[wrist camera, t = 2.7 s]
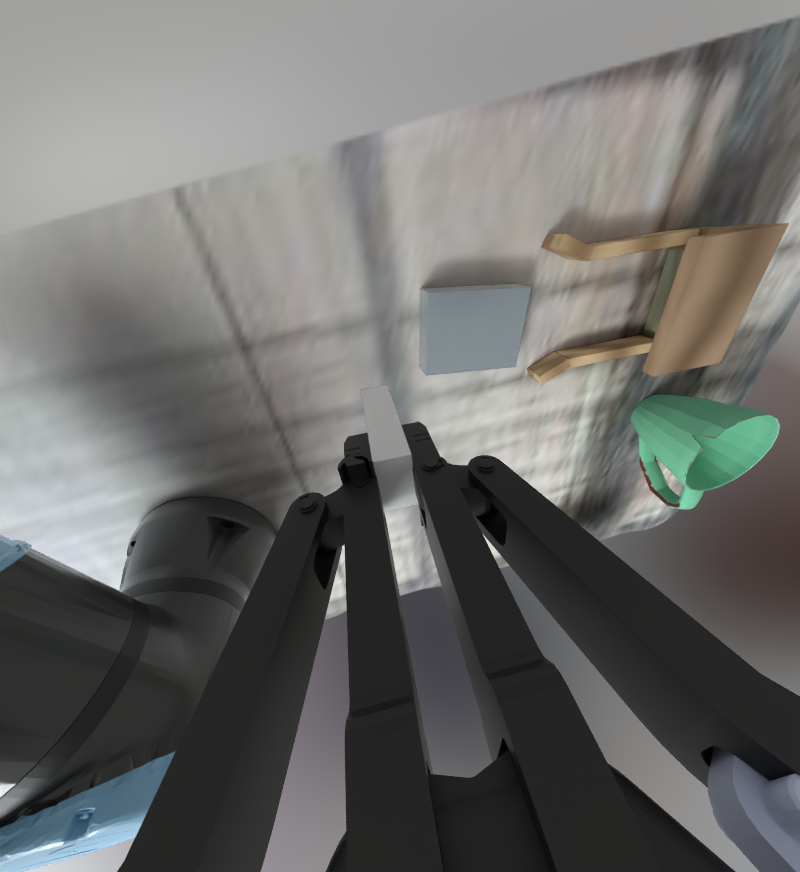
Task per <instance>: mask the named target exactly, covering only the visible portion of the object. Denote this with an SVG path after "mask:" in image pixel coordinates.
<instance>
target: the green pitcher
mask: <svg viewBox="0 0 800 872" xmlns="http://www.w3.org/2000/svg"><path fill="white" fill-rule="evenodd" d="M631 424H632V425H633V427H634V428H635V430H636V432H637V433H638V438H639V463H640V465H641V468H642V470H643V473H644V476H645V478H646V481H647V483H648V486H649V488H650V490H651V491H652V492H653V493H654V494H655V495H656V496H657V497H659V498H660V499H661V500H662V501H663V502H664V503H665V504H666V505H667V506H669V507H671V508H677V509H691V508H694V507H695V506H696V505H697V503H698V501H699V500H700V498H701V497H702V494H703V491H705V490H711V489H714V488H717V487H720V486H722V485H724V484H726V483H728V482H730V481H732V480H734V479H736V478H738V477H739V476H740V475H742V474H743V473H745V472H746V471H748V470H749V469H750V468H752V467H753V466H754V465H755V464H756V463H757V462H758V461H759V460H761V459H762V458H763V456H764V455H765V454H766V453H767V452H768V450H769V449H770V448H771V447H772V445H773V444H774V442H775V440H776V438H777V436H778V433H779V428H780V424H779V422H778V419H777V418H776V417H774V416H772V415H769V414H767V413H764V412H762V411H758V410H755V409H750V408H745V407H740V406H734V405H729V404H724V403H720V402H716V401H712V400H708V399H701V398H694V397H686V396H676V395H660V394H659V395H652V396H649V397H648V398H646V399H644V400H643V401H642V402H641V403H640V404H638V405H637V407H636V408H635V409H634V411H633V413H632V415H631ZM656 457H657V458H658V459H659V460H660V461H661V462H662V463H663V464H664V465H665V466H666V468H667V469H668V470H669V471H670V472H671V473H672V474H673V475H674V476H675V477H676V478H677V479H678V480H679V481H680V482H681V483H682V484H683V485H684V486H683V491H682V495H681V497H679V496H677V495H676V494H675V493H674V492H673V491H672V490H671V489H670V488H669V486H668V484H667V482H666V480H665V478H664V475H663V473H662V471H661V469H660V467H659V465H658V463H657V460H656Z"/></svg>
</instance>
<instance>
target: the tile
mask: <svg viewBox="0 0 800 872" xmlns="http://www.w3.org/2000/svg"><path fill="white" fill-rule="evenodd" d="M530 292H531V287H528V286H524V285H520V284H516V283H515V284H496V285H478V286H459V287H441V288H422V289H420V358H419V366H420V367H421V369H422V370H423V372H424V373H425V375H437V374H447V373H457V372H467V371H478V370H488V369H498V368H509V367H516V363H517V358H518V353H519V348H520V343H521V338H522V333H523V327H524V322H525V317H526V312H527V307H528V302H529V297H530Z"/></svg>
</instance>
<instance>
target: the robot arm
mask: <svg viewBox="0 0 800 872" xmlns="http://www.w3.org/2000/svg"><path fill="white" fill-rule="evenodd" d="M361 395H362V402H363V408H364V414H365V420H366V426H367V432H368V433H364V434H359V435H354V436H349V437H348V438H347V439H346V441H345V443H344V456H345V458H344V459H343V460H342V461H341V462H340V463H339V465H338V471H339V474H340V477H341V480H342V484H343V485H342V486H341V487H340V488H339V489H338V490H337V491H335V492H333V493H332V494H329V495H327V496H325V497H324V496H323V495H321V494H320V493H314V492H313V493H307V494H304V495H302V496H300V497H299V498H297V499H296V500H295V501H294V502H293V503H292V505H291V506H290V508H289V510H288V512H287V515H286V517H285V519H284V521H283V523H282V525H281V527H280V530H279V532H278V534H277V536H276V534H275V531H274V529H273V527H272V526H271V524H270V523H269V522H268V521H267V520H266V519H265V518H264V517H263V516H262V515H261V514H259V513H258V512H256V511H255V510H253V509H251V508H249V507H247V506H245V505H242V504H240V503H237V502H233V501H230V500H225V499H219V498H210V497H194V498H185V499H179V500H175V501H172V502H168V503H166V504H163V505H161V506H159V507H157V508H155V509H154V510H152V511H151V512H150V513H149V514H148V515H146V516H145V518H144V519H143V520H142V522H141V523H140V525H139V526H138V528H137V529H136V531H135V532H134V534H133V535H132V537H131V539H130V541H129V544H128V549H127V559H126V562H125V566H124V570H123V575H122V580H121V585H120V590H119V591H118V590H116V589H114V588H112V587H110V586H108V585H106V584H103V583H101V582H99V581H97V580H95V579H93V578H91V577H89V576H87V575H85V574H83V573H81V572H79V571H77V570H75V569H73V568H71V567H69V566H66V565H64V564H62V563H60V562H58V561H56V560H54V559H52V558H50V557H48V556H46V555H44V554H42V553H40V552H38V551H36V550H34V549H32V548H31V545H30V544H28V543H26V542H25V541H21V540H11V539H9V538H6V537H4V536H2V535H0V872H23V871H26V870H30V869H34V868H37V867H41V866H45V865H48V864H52V863H55V862H59V861H62V860H66V859H69V858H72V857H76V856H79V855H82V854H86V853H89V852H92V851H95V850H98V849H101V848H104V847H108V846H111V845H114V844H117V843H120V842H122V841H125V840H129V839H131V838H134V837H135V840H134V842H133V844H132V846H131V848H130V850H129V852H128V855H127V857H126V859H125V861H124V862H123V864H122V865H121V867H120V868H119V870H118V871H117V872H260V871H261V868H262V865H263V861H264V858H265V854H266V851H267V847H268V844H269V840H270V837H271V833H272V829H273V826H274V822H275V818H276V814H277V810H278V805H279V801H280V797H281V793H282V789H283V785H284V781H285V777H286V773H287V769H288V765H289V761H290V757H291V752H292V749H293V744H294V741H295V737H296V733H297V729H298V724H299V720H300V716H301V712H302V708H303V704H304V700H305V696H306V692H307V688H308V684H309V680H310V676H311V671H312V668H313V663H314V660H315V656H316V652H317V648H318V644H319V640H320V635H321V631H322V627H323V623H324V619H325V615H326V611H327V607H328V603H329V599H330V595H331V591H332V587H333V583H334V579H335V575H336V571H337V567H338V563H339V559H340V555H341V550H342V545H344V544H345V568H346V599H347V628H348V629H347V630H348V661H349V689H350V708H349V714H348V717H347V720H346V728H345V773H346V774H345V780H346V826H347V827H346V829H347V831H346V832H345V834H344V835H343V837H342V839H341V840H340V842H339V844H338V846H337V848H336V850H335V852H334V854H333V856H332V858H331V861H330V863H329V865H328V868H327V870H326V872H735V871H734V870H733V869H732V868H730V867H729V866H728V865H727V864H725V862H723V861H722V860H721V859H720V858H719V857H718V856H717V855H715V854H714V853H713V852H712V851H711V850H710V849H708V848H707V847H706V846H705V845H704V844H703V843H701V842H700V841H699V840H698V839H697V838H696V837H694V836H693V835H692V834H691V833H690V832H689V831H688V830H687V829H685V828H684V827H683V826H682V825H681V824H680V823H678V822H677V821H676V820H675V819H674V818H672V816H670V815H669V814H668V813H667V812H666V811H664V810H663V809H662V808H661V807H660V806H659V805H658V804H657V803H655V802H654V801H653V800H652V799H651V798H650V797H648V796H647V795H646V794H645V793H644V792H643V791H642V790H640V789H639V788H638V787H637V786H636V785H635V784H633V783H632V782H631V781H630V780H628V778H626V777H625V776H624V775H623V774H622V773H620V772H619V771H618V770H616V769H615V768H614V767H612V766H611V765H609V764H608V763H607V762H606V760H605V758H604V756H603V754H602V752H601V750H600V748H599V746H598V744H597V742H596V740H595V738H594V736H593V734H592V733H591V731H590V729H589V727H588V725H587V723H586V721H585V719H584V717H583V715H582V713H581V711H580V709H579V707H578V705H577V703H576V701H575V700H574V698H573V696H572V694H571V692H570V690H569V688H568V686H567V684H566V682H565V681H564V679H563V677H562V675H561V674H560V672H559V671H558V669H557V668H556V667H555V666H554V664H553V663H551V662H550V661H548V660H547V659H546V658H545V657H544V656H543V655H542V653H541V651H540V650H539V648H538V646H537V644H536V642H535V640H534V638H533V636H532V634H531V632H530V630H529V628H528V626H527V624H526V622H525V620H524V618H523V616H522V614H521V611H520V609H519V607H518V606H517V603H516V601H515V599H514V597H513V595H512V593H511V591H510V589H509V587H508V585H507V583H506V581H505V579H504V577H503V575H502V573H501V571H500V569H499V567H498V565H497V563H496V561H495V559H494V557H493V555H492V553H491V550H490V548H489V546H488V544H487V542H486V540H485V538H484V536H485V537H486V538H487V539H488V540H489V542H490V543H491V544H492V545H493V546H494V547H495V549H496V550H497V551H498V552H499V553H500V555H501V556H502V557H503V558H504V559H505V561H506V562H507V563H508V564H509V565H510V566H511V568H512V569H513V570H514V571H515V572H516V574H517V575H518V576H519V577H520V578H521V580H522V581H523V582H524V583H525V584H526V586H527V587H528V588H529V589H530V590H531V591H532V593H533V594H534V595H535V596H536V597H537V598H538V600H539V601H540V602H541V603H542V604H543V606H544V607H545V608H546V609H547V611H548V612H549V613H550V614H551V615H552V616H553V617H554V619H555V620H556V621H557V622H558V624H559V625H560V626H561V627H562V628H563V629H564V631H565V632H566V633H567V634H568V635H569V637H570V638H571V639H572V640H573V641H574V643H575V644H576V645H577V646H578V647H579V649H580V650H581V651H582V652H583V653H584V654H585V656H586V657H587V658H588V659H589V660H590V662H591V663H592V664H593V665H594V666H595V667H596V669H597V670H598V671H599V672H600V674H601V675H602V676H603V677H604V678H605V679H606V681H607V682H608V683H609V684H610V685H611V686H612V688H613V689H614V690H615V691H616V693H617V694H618V695H619V696H620V697H621V699H622V700H623V701H624V702H625V703H626V704H627V705H628V707H629V708H630V709H631V710H632V711H633V713H634V714H635V715H636V716H637V717H638V719H639V720H640V721H641V722H642V723H643V724H644V725H645V726H646V728H647V729H648V730H649V731H650V732H651V733H652V734H653V735H654V737H655V738H656V739H657V740H658V741H659V742H660V743H661V744H662V745H663V746H664V747H665V748H666V749H667V750H668V751H669V752H670V753H671V754H672V755H673V756H674V757H675V758H676V759H677V760H678V761H679V762H680V763H681V764H682V765H683V766H684V767H685V768H686V769H687V770H688V771H689V772H690V773H691V774H693V775H694V776H695V777H696V778H697V779H698V780H699V781H701V782H702V783H703V784H704V785H705V786H706V787H708V794H709V798H710V801H711V805H712V808H713V814H714V816H715V819H716V821H717V823H718V825H719V827H720V828H721V829H722V831H723V832H724V833H725V835H726V836H727V837H728V838H729V839H730V840H731V841H732V842H734V843H735V844H736V846H737V847H738V848H739V849H740V850H741V851H742V852H743V854H744V855H745V856H746V857H747V858H748V859H749V860H750V861H751V863H752V864H753V865H754V866H755V867H756V868H757V869H758V870H759V872H800V696H798V695H796V694H794V693H793V692H791V691H789V690H788V689H786V688H784V687H782V686H781V685H779V684H777V683H776V682H774V681H772V680H770V679H769V678H767V677H765V676H763V675H762V674H760V673H759V672H758V671H756V670H755V669H754V668H753V667H752V666H750V665H749V664H748V663H747V662H746V661H744V660H743V659H742V658H741V657H739V656H738V655H737V654H736V653H734V652H733V651H732V650H731V649H730V648H728V647H727V646H726V645H725V644H724V643H722V642H721V641H720V640H719V639H717V638H716V637H715V636H714V635H713V634H711V633H710V632H709V631H708V630H707V629H705V628H704V627H703V626H702V625H700V624H699V623H698V622H697V621H695V620H694V619H693V618H692V617H690V616H689V615H688V614H687V613H686V612H685V611H683V610H682V609H681V608H680V607H678V606H677V605H676V604H675V603H673V602H672V601H671V600H670V599H669V598H667V597H666V596H665V595H664V594H663V593H661V592H660V591H659V590H658V589H657V588H655V587H654V586H653V585H652V584H650V583H649V582H648V581H646V580H645V579H644V578H643V577H642V576H640V575H639V574H638V573H637V572H636V571H634V570H633V569H632V568H631V567H630V566H628V565H627V564H626V563H625V562H624V561H622V560H621V559H620V558H619V557H617V556H616V555H615V554H614V553H613V552H611V551H610V550H609V549H608V548H607V547H605V546H604V545H603V544H602V543H600V542H599V541H598V540H597V539H596V538H594V537H593V536H592V535H591V534H589V533H588V532H587V531H586V530H585V529H583V528H582V527H581V526H580V525H578V524H577V523H576V522H575V521H574V520H572V519H571V518H570V517H569V516H567V515H566V514H565V513H564V512H563V511H561V510H560V509H559V508H558V507H557V506H555V505H554V504H553V503H552V502H550V501H549V500H548V499H547V498H546V497H544V496H543V495H542V494H541V493H539V492H538V491H537V490H536V489H535V488H533V487H532V486H531V485H530V484H528V483H527V482H526V481H525V480H524V479H522V478H521V477H520V476H519V475H517V474H516V473H515V472H514V471H513V470H511V469H510V468H509V467H508V466H506V465H505V464H504V463H503V462H502V461H500V460H499V459H497V458H495V457H492V456H488V455H481V456H477V457H475V458H473V459H471V460H470V462H469V463H468V465H453V464H449V463H447V461H446V460H445V459H444V458H442V457H440V456H439V453H438V451H437V449H436V447H435V445H434V443H433V441H432V439H431V437H430V435H429V433H428V430H427V428H426V426H424V425H423V424H421V423H420V422H415V423H410V424H405V425H401V423H400V420H399V417H398V414H397V412H396V409H395V406H394V403H393V400H392V397H391V394H390V392H389V389H388V386H387V385H384V386H378V387H373V388H368V389H362V390H361ZM417 500H418V501H417ZM418 503H419V508H420V516H421V524H422V526H424V528H425V531H426V535H427V538H428V541H429V545H430V548H431V551H432V555H433V558H434V561H435V564H436V568H437V571H438V574H439V578H440V581H441V584H442V587H443V591H444V594H445V597H446V601H447V604H448V607H449V611H450V614H451V617H452V621H453V624H454V627H455V631H456V634H457V637H458V640H459V644H460V647H461V650H462V654H463V657H464V660H465V663H466V667H467V670H468V674H469V677H470V680H471V683H472V687H473V690H474V693H475V696H476V700H477V703H478V707H479V710H480V714H481V719H482V724H483V729H484V733H485V737H486V741H487V744H488V748H489V751H490V755H491V758H492V761H493V763H491V764H490V765H489V766H488V767H486V768H485V769H484V770H483V771H482V772H480V773H479V774H478V775H476V776H475V777H472V778H463V777H454V776H444V775H434V774H433V773H432V767H431V762H430V756H429V751H428V746H427V742H426V737H425V732H424V726H423V721H422V715H421V710H420V705H419V700H418V694H417V688H416V682H415V677H414V671H413V666H412V661H411V655H410V649H409V644H408V639H407V633H406V628H405V622H404V616H403V611H402V605H401V600H400V594H399V589H398V583H397V578H396V572H395V567H394V561H393V556H392V551H391V545H390V540H389V534H388V529H387V523H386V518H385V514H384V512H385V511H390V510H394V509H399V508H403V507H408V506H412V505H417V504H418ZM482 533H483V534H484V536H483V534H482Z"/></svg>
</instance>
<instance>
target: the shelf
mask: <svg viewBox="0 0 800 872" xmlns="http://www.w3.org/2000/svg"><path fill="white" fill-rule="evenodd" d="M788 224H789V223H786V224H759V225H732V226H705V227H688V228H682V229H676V230H670V231H664V232H658V233H651V234H645V235H639V236H633V237H627V238H620V239H614V240H608V241H602V242H596V243H590V244H586V243H584V242H582V241H580V240H578V239H576V238H574V237H572V236H570V235H567V234H565V233H564V234H547V236H546V238H545V241H544V243H543V245H542V248H545V249H547V250H549V251H551V252H553V253H556V254H558V255H560V256H562V257H564V258H567V259H569V260H579V261H588V260H589V261H590V260H596V259H602V258H608V257H614V256H620V255H626V254H632V253H638V252H644V251H650V250H656V249H662V248H668V247H670V249H669V252H668V255H667V259H666V262H665V265H664V268H663V271H662V274H661V277H660V280H659V283H658V286H657V289H656V292H655V296H654V299H653V302H652V305H651V308H650V311H649V314H648V317H647V320H646V323H645V326H644V330H643V333H642V336H641V335H638V336H633V337H628V338H623V339H618V340H613V341H607V342H602V343H597V344H592V345H587V346H582V347H576V348H571V349H566V350H561V351H556V352H552V353H551V354H549V355H548V356H546V357H545V358H543V359H541V360H540V361H538V362H537V363H535V364H533V365H532V366H530V367H529V368H527V370H528V373H529V376H531V377H532V378H534V379H535V380H537V381H538V382H539V383H541V384H543V383H545V382H547V381H548V380H550V379H551V378H553V377H555V376H556V375H558V374H560V373H561V372H563V371H564V370H566V369H568V368H572V367H577V366H582V365H587V364H592V363H597V362H602V361H607V360H612V359H617V358H622V357H627V356H632V355H637V354H642V353H647V352H649V354H648V357H647V360H646V363H645V365H644V368H643V371H642V372H644V373H646V374H648V375H651V376H653V377H654V376H659V375H664V374H669V373H674V372H678V371H683V370H688V369H693V368H698V367H703V366H707V365H712V364H717V363H720V362H721V360H722V358H723V356H724V354H725V352H726V350H727V348H728V346H729V344H730V342H731V340H732V338H733V335H734V333H735V331H736V329H737V327H738V325H739V323H740V321H741V319H742V317H743V315H744V313H745V311H746V309H747V307H748V305H749V303H750V301H751V299H752V297H753V295H754V293H755V291H756V289H757V287H758V285H759V283H760V281H761V279H762V277H763V275H764V273H765V271H766V269H767V267H768V265H769V263H770V261H771V258H772V256H773V254H774V252H775V250H776V248H777V246H778V244H779V242H780V240H781V238H782V236H783V234H784V232H785V230H786V228H787V226H788Z"/></svg>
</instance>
